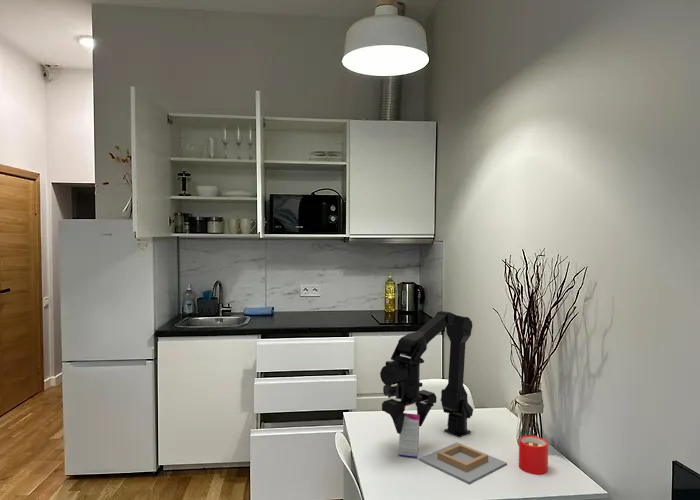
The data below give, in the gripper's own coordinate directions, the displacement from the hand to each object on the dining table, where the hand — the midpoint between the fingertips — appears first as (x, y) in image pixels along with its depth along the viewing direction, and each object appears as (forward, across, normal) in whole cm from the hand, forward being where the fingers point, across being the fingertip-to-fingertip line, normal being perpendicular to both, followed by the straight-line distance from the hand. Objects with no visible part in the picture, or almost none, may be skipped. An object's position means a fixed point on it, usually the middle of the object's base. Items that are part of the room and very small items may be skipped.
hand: (409, 429), depth 149 cm
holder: (+7, -8, +14) cm, 18 cm away
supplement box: (+8, 0, 0) cm, 8 cm away
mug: (+8, -23, +28) cm, 37 cm away
